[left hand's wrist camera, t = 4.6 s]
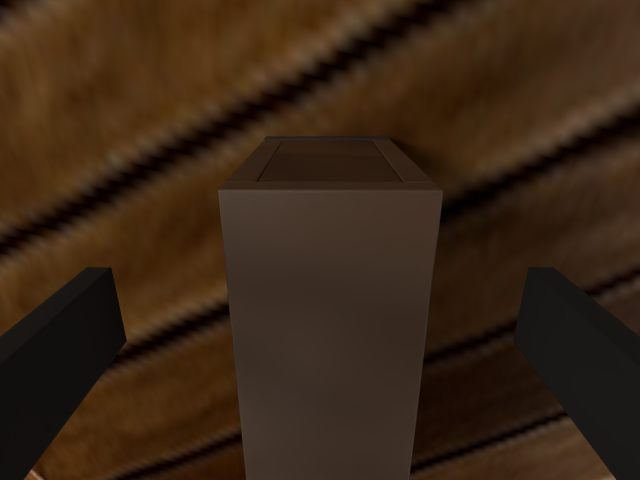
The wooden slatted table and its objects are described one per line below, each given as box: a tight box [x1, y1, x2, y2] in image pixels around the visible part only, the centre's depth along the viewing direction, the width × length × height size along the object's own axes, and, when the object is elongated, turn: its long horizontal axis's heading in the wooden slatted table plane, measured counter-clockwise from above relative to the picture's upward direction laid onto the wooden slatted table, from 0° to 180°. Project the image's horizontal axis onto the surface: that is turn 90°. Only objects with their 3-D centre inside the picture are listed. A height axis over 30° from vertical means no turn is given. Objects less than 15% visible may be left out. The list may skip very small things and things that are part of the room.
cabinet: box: [218, 137, 443, 480], centre depth 19 cm, size 22×6×10 cm, turn 0°
